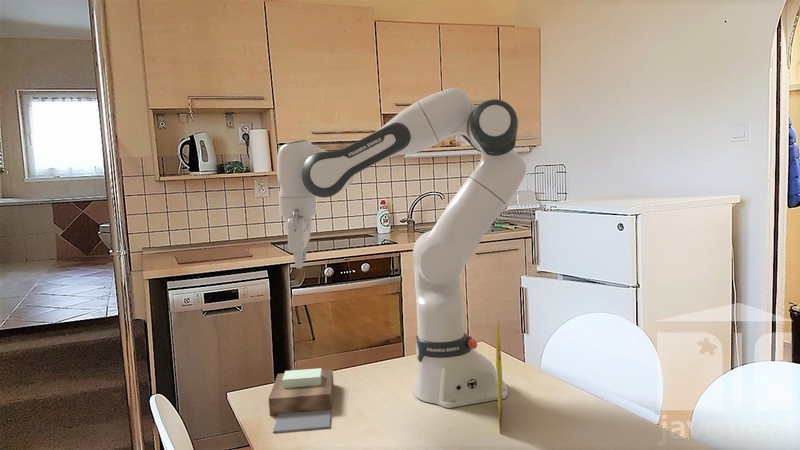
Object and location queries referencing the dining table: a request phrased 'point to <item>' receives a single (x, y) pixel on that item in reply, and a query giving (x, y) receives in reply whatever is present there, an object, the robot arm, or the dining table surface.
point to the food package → (499, 374)
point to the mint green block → (302, 378)
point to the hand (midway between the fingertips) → (300, 264)
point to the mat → (302, 421)
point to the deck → (301, 396)
